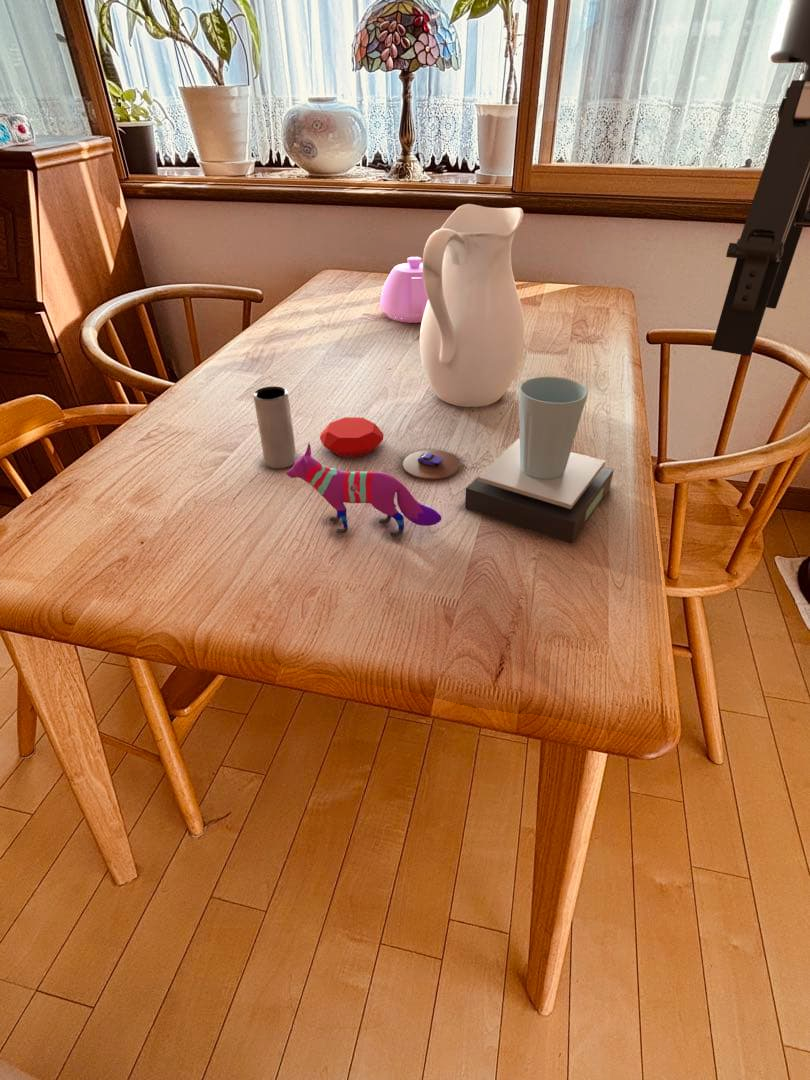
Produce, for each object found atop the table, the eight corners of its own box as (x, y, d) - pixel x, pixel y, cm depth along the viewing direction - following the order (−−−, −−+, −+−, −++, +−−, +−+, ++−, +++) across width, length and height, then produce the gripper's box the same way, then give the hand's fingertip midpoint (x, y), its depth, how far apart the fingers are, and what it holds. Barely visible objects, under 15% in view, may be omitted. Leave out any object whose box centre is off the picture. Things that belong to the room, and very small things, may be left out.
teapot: (453, 328, 135) (455, 269, 127) (381, 330, 134) (379, 271, 127) (443, 299, 152) (444, 245, 145) (379, 301, 152) (377, 247, 144)
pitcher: (449, 368, 116) (454, 200, 99) (534, 386, 109) (555, 208, 92) (378, 417, 100) (370, 225, 83) (472, 442, 92) (484, 237, 76)
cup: (527, 489, 73) (538, 406, 67) (500, 459, 79) (508, 380, 73) (585, 478, 75) (600, 397, 69) (554, 450, 81) (566, 373, 75)
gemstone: (390, 454, 90) (390, 435, 88) (330, 465, 87) (328, 446, 86) (372, 428, 97) (371, 410, 95) (316, 437, 94) (314, 419, 93)
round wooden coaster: (446, 485, 83) (446, 475, 82) (392, 472, 86) (392, 463, 85) (468, 459, 88) (469, 449, 87) (418, 447, 91) (418, 438, 90)
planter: (294, 451, 91) (285, 384, 85) (298, 466, 87) (289, 397, 81) (263, 455, 90) (252, 388, 84) (266, 471, 86) (254, 401, 80)
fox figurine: (297, 516, 77) (286, 441, 71) (442, 522, 76) (444, 447, 70) (289, 533, 74) (278, 457, 68) (440, 540, 73) (442, 463, 67)
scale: (610, 489, 82) (617, 459, 79) (572, 543, 72) (577, 512, 70) (511, 461, 88) (514, 433, 85) (464, 508, 78) (466, 478, 76)
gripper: (806, 1, 49) (726, 285, 61) (755, -35, 32) (660, 365, 45) (922, -6, 45) (812, 295, 58) (932, -50, 29) (775, 387, 41)
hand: (746, 327), depth 51 cm, fingers open, 13 cm apart
